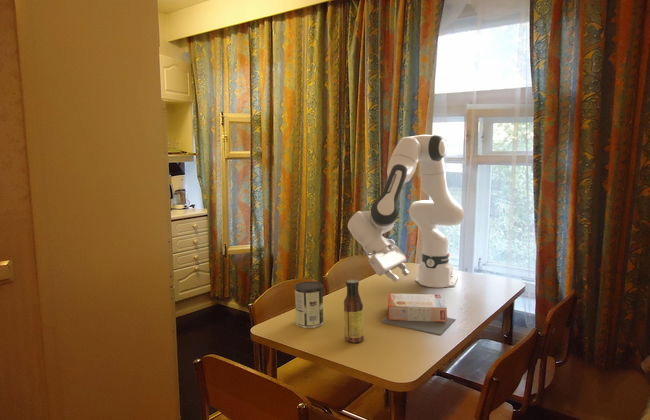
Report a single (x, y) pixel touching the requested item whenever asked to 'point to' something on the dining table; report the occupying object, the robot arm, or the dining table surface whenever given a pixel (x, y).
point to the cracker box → (417, 307)
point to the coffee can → (309, 304)
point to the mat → (422, 325)
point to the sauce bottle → (353, 313)
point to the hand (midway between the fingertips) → (402, 277)
